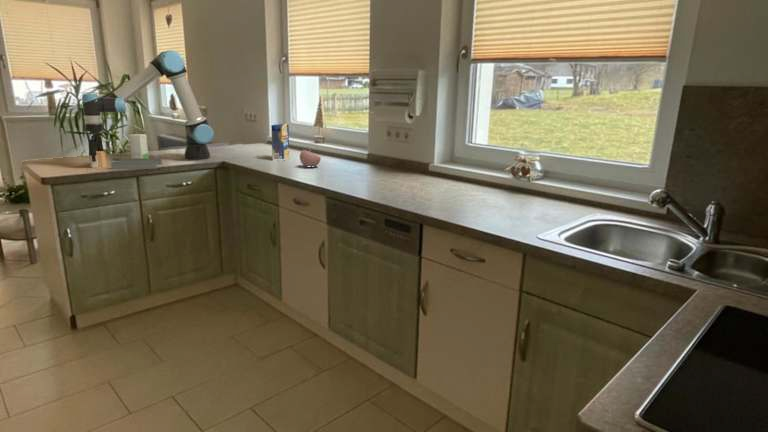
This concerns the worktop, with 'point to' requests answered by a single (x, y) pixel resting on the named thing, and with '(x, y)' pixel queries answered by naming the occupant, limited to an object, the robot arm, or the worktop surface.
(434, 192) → the worktop surface
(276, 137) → the beverage box
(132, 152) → the skincare box
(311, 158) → the reddish-brown rounded lump
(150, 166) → the channel
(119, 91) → the robot arm
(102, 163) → the orange block
